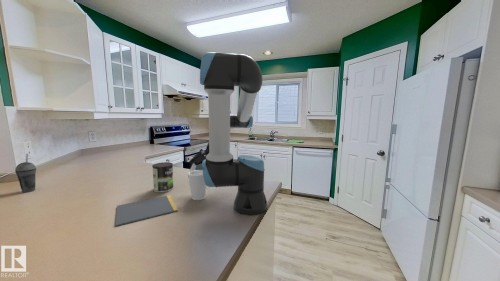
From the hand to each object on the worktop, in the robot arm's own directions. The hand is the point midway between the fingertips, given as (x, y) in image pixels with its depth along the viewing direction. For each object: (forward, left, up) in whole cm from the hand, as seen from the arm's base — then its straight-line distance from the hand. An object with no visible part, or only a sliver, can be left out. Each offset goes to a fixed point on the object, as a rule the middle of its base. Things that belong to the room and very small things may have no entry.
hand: (201, 176), depth 98 cm
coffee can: (+18, +15, -10) cm, 26 cm away
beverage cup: (+51, +76, -10) cm, 92 cm away
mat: (-3, +25, -10) cm, 27 cm away
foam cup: (-3, +2, -10) cm, 10 cm away
